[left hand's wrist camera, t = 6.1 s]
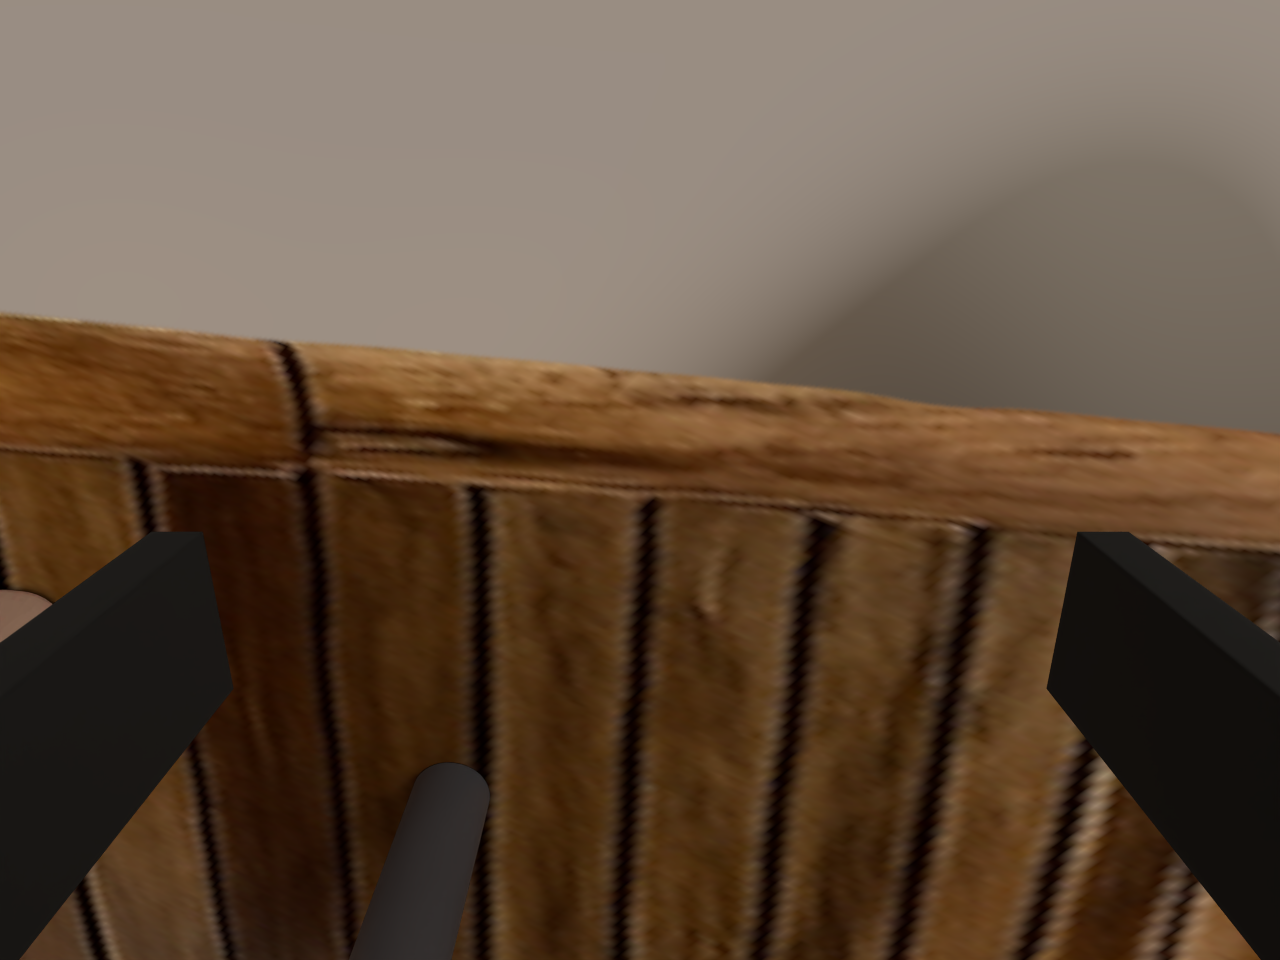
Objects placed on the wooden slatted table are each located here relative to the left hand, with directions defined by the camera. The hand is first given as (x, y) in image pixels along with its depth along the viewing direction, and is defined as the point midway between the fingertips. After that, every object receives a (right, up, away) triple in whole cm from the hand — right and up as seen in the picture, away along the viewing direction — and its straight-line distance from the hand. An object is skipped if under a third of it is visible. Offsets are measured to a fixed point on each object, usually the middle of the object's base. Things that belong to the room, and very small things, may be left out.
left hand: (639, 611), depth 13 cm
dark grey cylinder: (-11, -16, +36) cm, 41 cm away
